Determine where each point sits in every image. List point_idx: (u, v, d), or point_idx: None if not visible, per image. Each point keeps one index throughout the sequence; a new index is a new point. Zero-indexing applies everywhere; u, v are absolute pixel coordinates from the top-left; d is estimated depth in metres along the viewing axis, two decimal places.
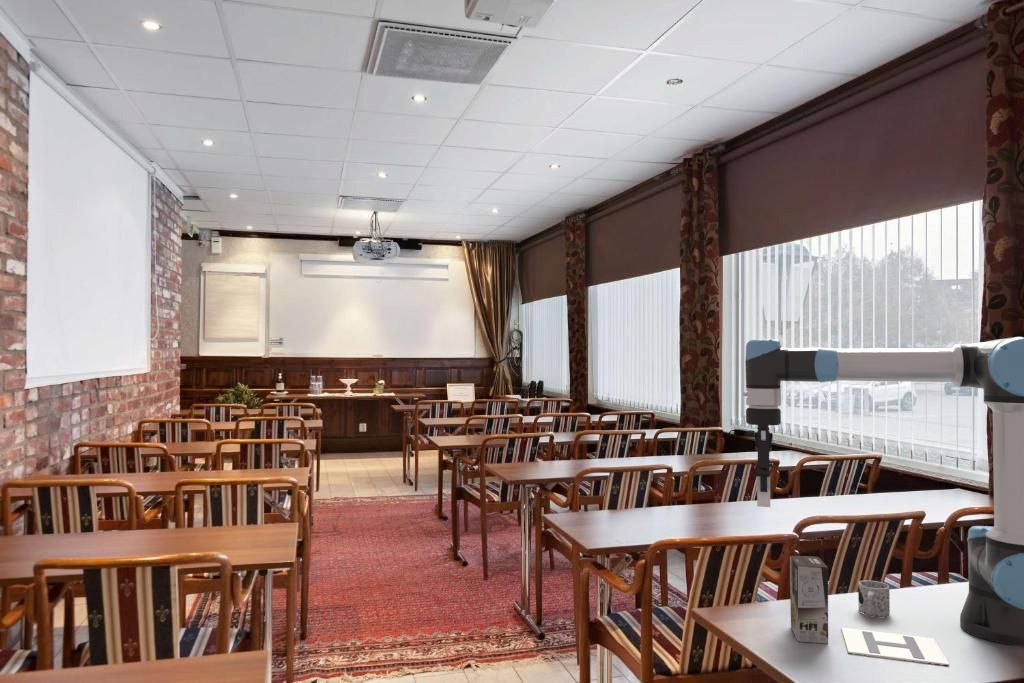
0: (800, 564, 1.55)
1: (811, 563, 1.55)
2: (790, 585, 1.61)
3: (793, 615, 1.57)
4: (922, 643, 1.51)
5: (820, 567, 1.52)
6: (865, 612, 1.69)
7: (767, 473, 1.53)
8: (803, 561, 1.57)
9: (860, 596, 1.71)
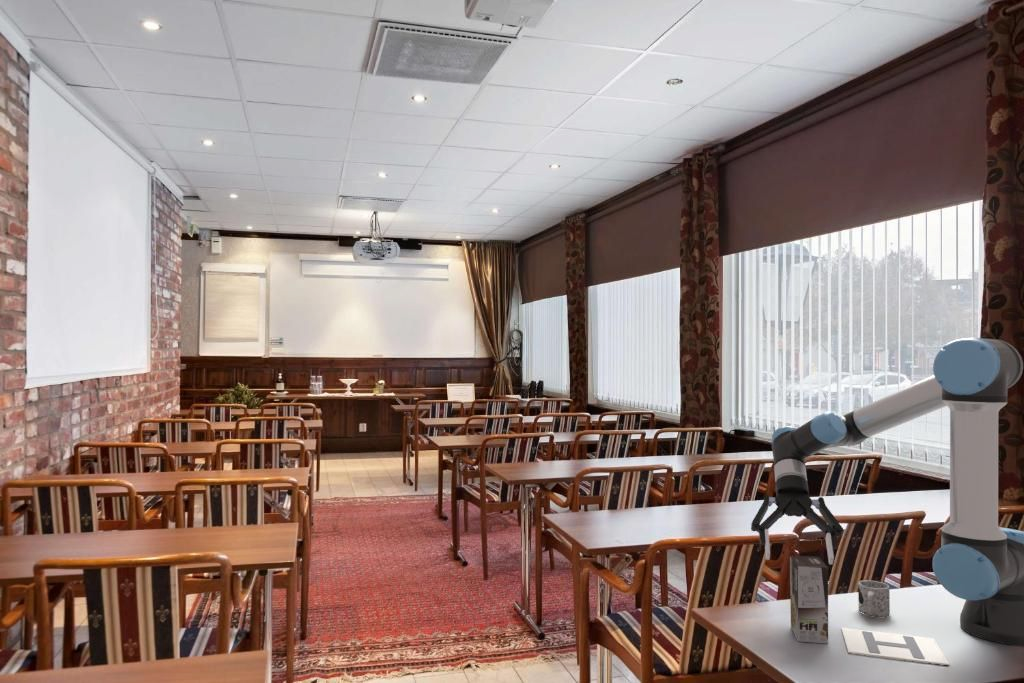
0: (800, 564, 1.55)
1: (811, 563, 1.55)
2: (790, 585, 1.61)
3: (793, 615, 1.57)
4: (922, 643, 1.51)
5: (820, 567, 1.52)
6: (865, 612, 1.69)
7: (751, 525, 1.72)
8: (803, 561, 1.57)
9: (860, 596, 1.71)
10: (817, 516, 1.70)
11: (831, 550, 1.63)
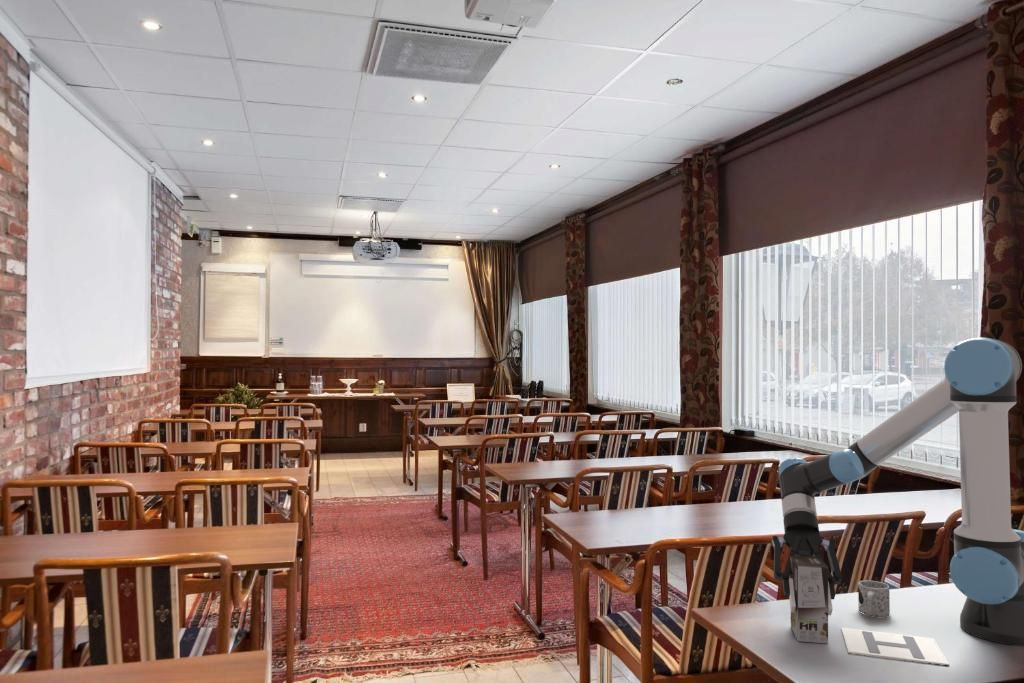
0: (800, 564, 1.55)
1: (811, 563, 1.55)
2: None
3: (793, 615, 1.57)
4: (922, 643, 1.51)
5: (820, 567, 1.52)
6: (865, 612, 1.69)
7: (774, 573, 1.60)
8: (803, 561, 1.57)
9: (860, 596, 1.71)
10: (821, 559, 1.60)
11: (829, 600, 1.53)
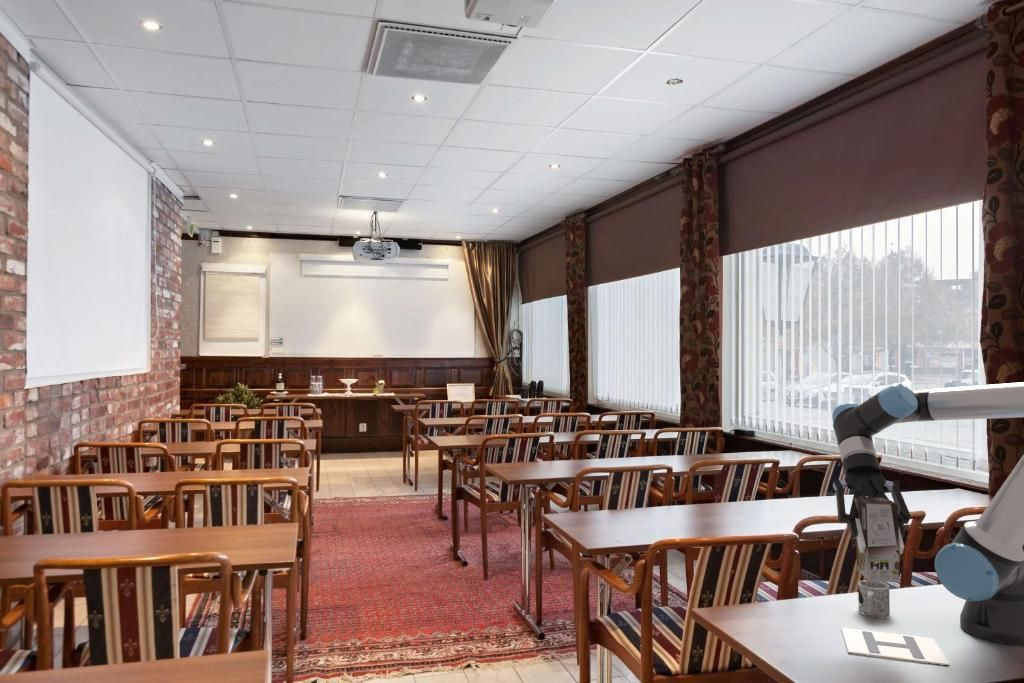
0: (868, 502, 1.50)
1: (879, 501, 1.51)
2: None
3: (861, 556, 1.53)
4: (922, 643, 1.51)
5: (889, 504, 1.48)
6: (865, 612, 1.69)
7: (839, 515, 1.55)
8: (870, 500, 1.52)
9: (860, 596, 1.71)
10: None
11: (900, 538, 1.48)
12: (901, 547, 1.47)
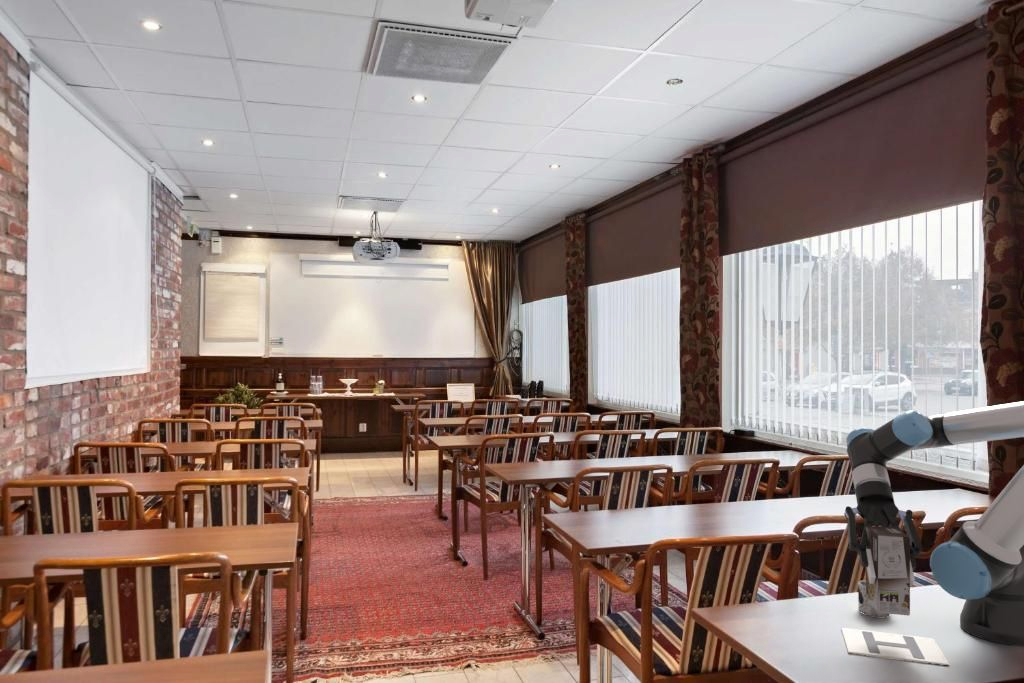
0: (880, 533, 1.49)
1: (891, 533, 1.50)
2: None
3: (871, 587, 1.52)
4: (922, 643, 1.51)
5: (902, 536, 1.47)
6: (865, 612, 1.69)
7: (850, 544, 1.54)
8: (882, 531, 1.51)
9: (860, 596, 1.71)
10: None
11: (911, 571, 1.47)
12: (911, 580, 1.46)
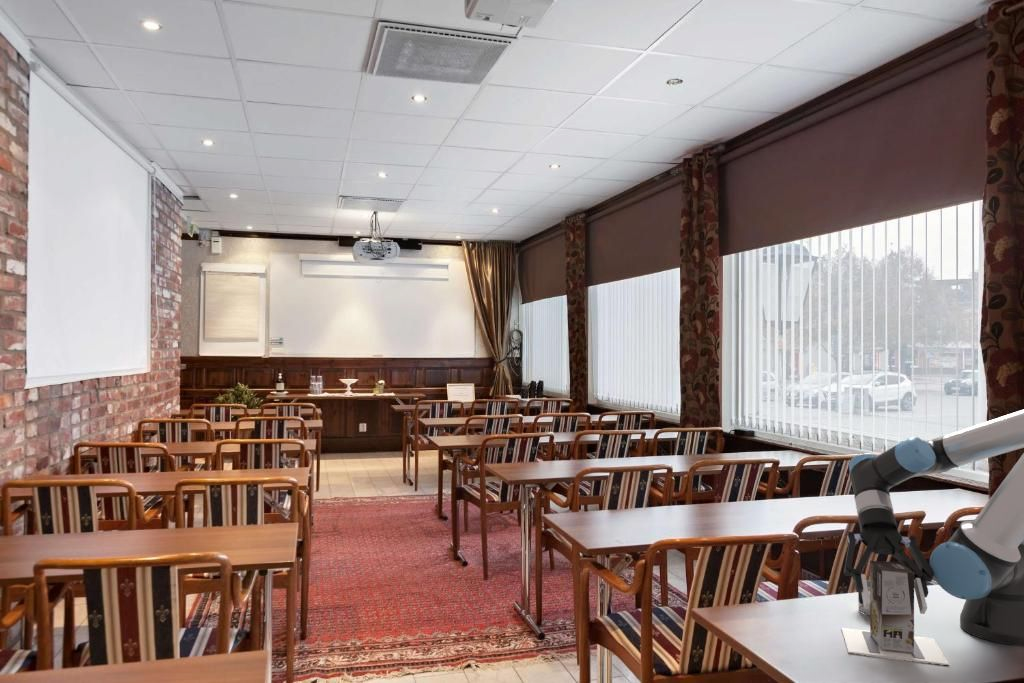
0: (884, 569, 1.49)
1: (895, 568, 1.49)
2: (870, 591, 1.55)
3: (875, 622, 1.51)
4: (922, 643, 1.51)
5: (906, 572, 1.47)
6: (865, 612, 1.69)
7: (845, 569, 1.55)
8: (886, 566, 1.51)
9: (860, 596, 1.71)
10: (907, 557, 1.54)
11: (923, 598, 1.47)
12: (924, 607, 1.46)
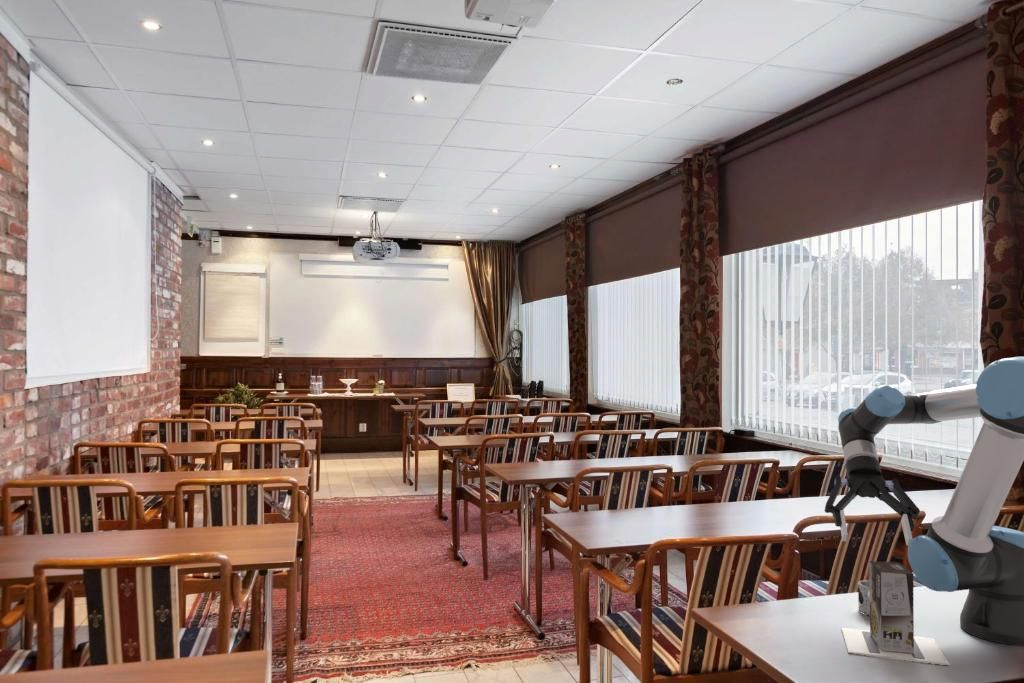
0: (883, 570, 1.49)
1: (894, 569, 1.49)
2: (870, 592, 1.55)
3: (874, 623, 1.51)
4: (922, 643, 1.51)
5: (905, 573, 1.46)
6: (865, 612, 1.69)
7: (825, 506, 1.68)
8: (885, 567, 1.51)
9: (860, 596, 1.71)
10: (892, 497, 1.67)
11: (909, 531, 1.60)
12: (910, 539, 1.59)
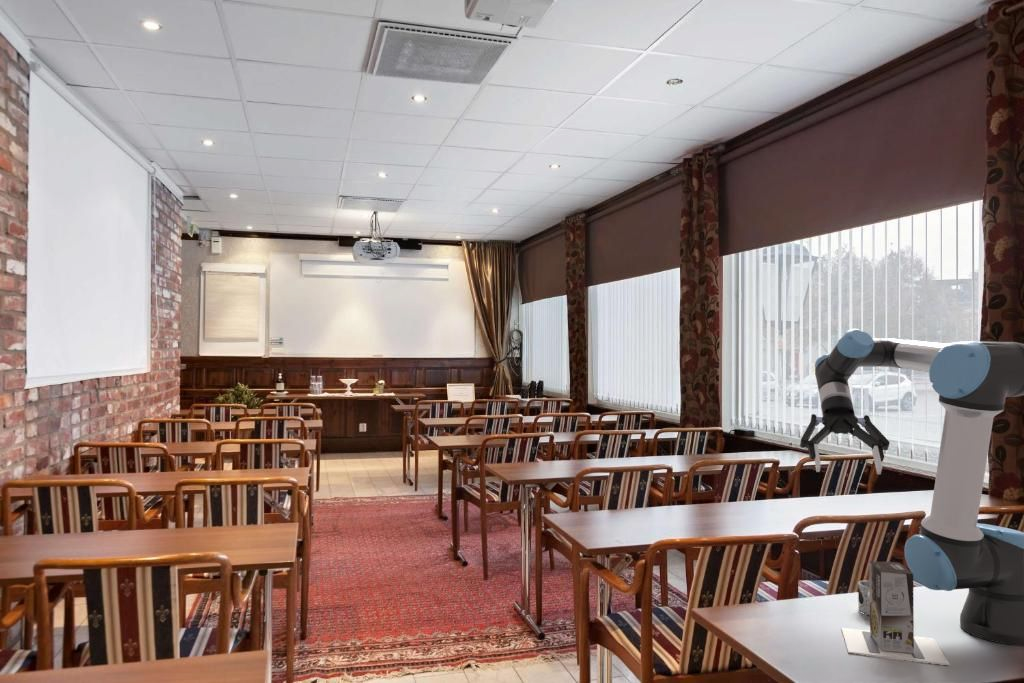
0: (883, 570, 1.49)
1: (894, 569, 1.49)
2: (870, 592, 1.55)
3: (874, 623, 1.51)
4: (922, 643, 1.51)
5: (905, 573, 1.46)
6: (865, 612, 1.69)
7: (801, 441, 1.80)
8: (885, 567, 1.51)
9: (860, 596, 1.71)
10: (864, 431, 1.78)
11: (879, 460, 1.71)
12: (880, 467, 1.70)
